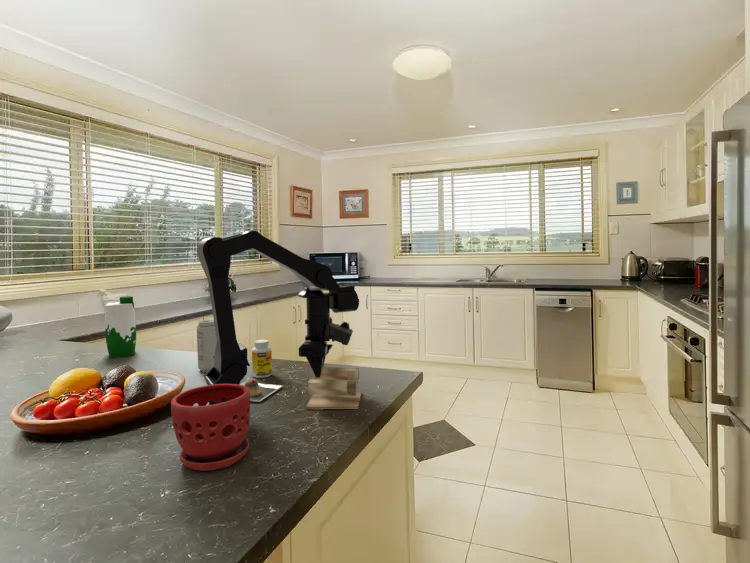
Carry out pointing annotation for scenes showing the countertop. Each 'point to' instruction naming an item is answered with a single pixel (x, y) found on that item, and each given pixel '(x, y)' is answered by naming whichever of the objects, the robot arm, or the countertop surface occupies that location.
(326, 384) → the c link
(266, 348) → the supplement bottle
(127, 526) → the countertop surface
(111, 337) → the milk carton
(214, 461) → the plant pot
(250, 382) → the dessert
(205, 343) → the energy drink can
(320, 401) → the cork mat
